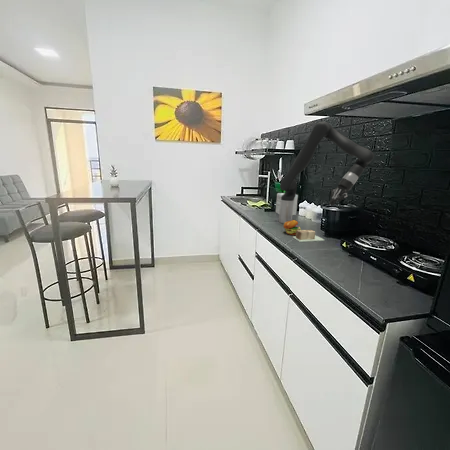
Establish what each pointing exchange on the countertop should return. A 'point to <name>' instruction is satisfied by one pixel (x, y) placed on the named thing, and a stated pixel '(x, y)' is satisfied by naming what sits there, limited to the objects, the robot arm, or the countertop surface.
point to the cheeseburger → (291, 227)
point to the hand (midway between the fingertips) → (330, 204)
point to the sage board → (310, 239)
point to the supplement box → (278, 203)
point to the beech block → (305, 234)
